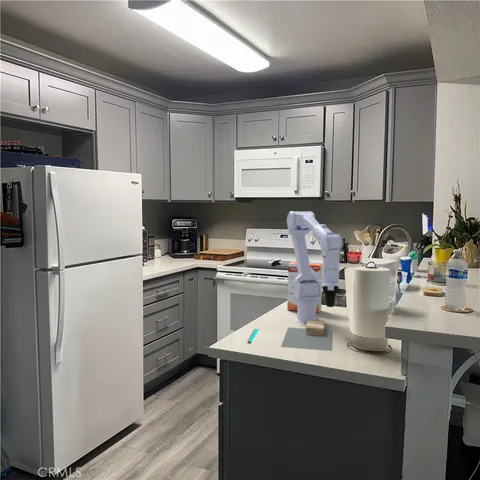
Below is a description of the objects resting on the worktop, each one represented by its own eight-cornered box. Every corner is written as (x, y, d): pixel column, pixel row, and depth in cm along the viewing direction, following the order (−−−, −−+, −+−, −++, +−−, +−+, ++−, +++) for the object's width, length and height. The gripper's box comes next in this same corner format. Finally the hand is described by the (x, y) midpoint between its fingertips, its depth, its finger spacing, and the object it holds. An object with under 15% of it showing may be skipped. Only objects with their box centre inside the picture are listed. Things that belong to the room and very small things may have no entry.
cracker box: (286, 310, 181) (287, 263, 180) (290, 307, 187) (291, 261, 185) (318, 313, 176) (319, 265, 174) (321, 310, 182) (322, 263, 180)
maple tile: (305, 334, 146) (307, 326, 155) (323, 335, 144) (324, 327, 154) (306, 327, 145) (307, 319, 155) (323, 328, 144) (324, 321, 154)
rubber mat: (288, 328, 154) (288, 327, 154) (332, 331, 151) (332, 330, 151) (280, 348, 133) (280, 346, 133) (332, 352, 129) (332, 350, 129)
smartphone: (247, 341, 138) (254, 328, 152) (247, 344, 138) (254, 331, 152) (269, 343, 136) (274, 330, 151) (269, 345, 136) (274, 332, 151)
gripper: (319, 265, 154) (318, 301, 155) (318, 271, 140) (318, 310, 141) (339, 266, 153) (338, 302, 154) (340, 272, 138) (339, 312, 139)
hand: (330, 306), depth 147 cm, fingers closed
